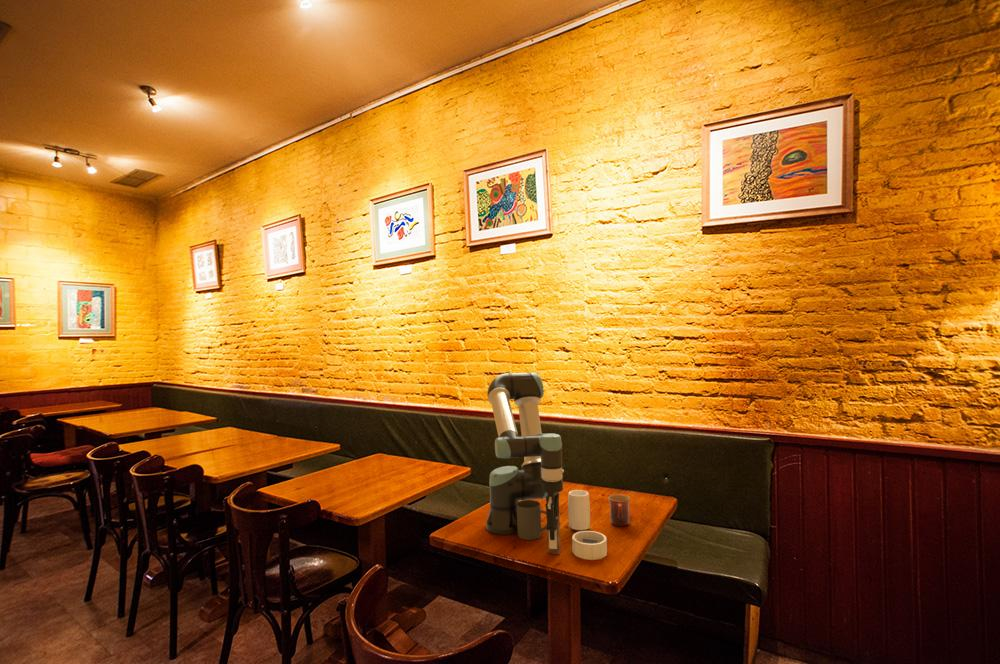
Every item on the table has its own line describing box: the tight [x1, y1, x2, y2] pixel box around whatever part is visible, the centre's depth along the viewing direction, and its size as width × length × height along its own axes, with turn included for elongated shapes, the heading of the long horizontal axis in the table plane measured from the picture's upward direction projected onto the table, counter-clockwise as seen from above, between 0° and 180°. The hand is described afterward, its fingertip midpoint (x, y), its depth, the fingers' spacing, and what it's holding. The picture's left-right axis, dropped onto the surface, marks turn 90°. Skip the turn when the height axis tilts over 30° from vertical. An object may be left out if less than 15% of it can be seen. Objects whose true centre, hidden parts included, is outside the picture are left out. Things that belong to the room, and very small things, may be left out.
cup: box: [567, 489, 591, 531], centre depth 183 cm, size 8×8×14 cm
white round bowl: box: [571, 530, 608, 561], centre depth 162 cm, size 12×12×5 cm
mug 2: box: [607, 493, 631, 527], centre depth 186 cm, size 12×9×10 cm
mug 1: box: [517, 499, 547, 541], centre depth 177 cm, size 14×9×12 cm
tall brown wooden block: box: [546, 516, 561, 555], centre depth 163 cm, size 4×2×12 cm, turn 73°
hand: (554, 546), depth 163 cm, fingers closed on tall brown wooden block, 2 cm apart
